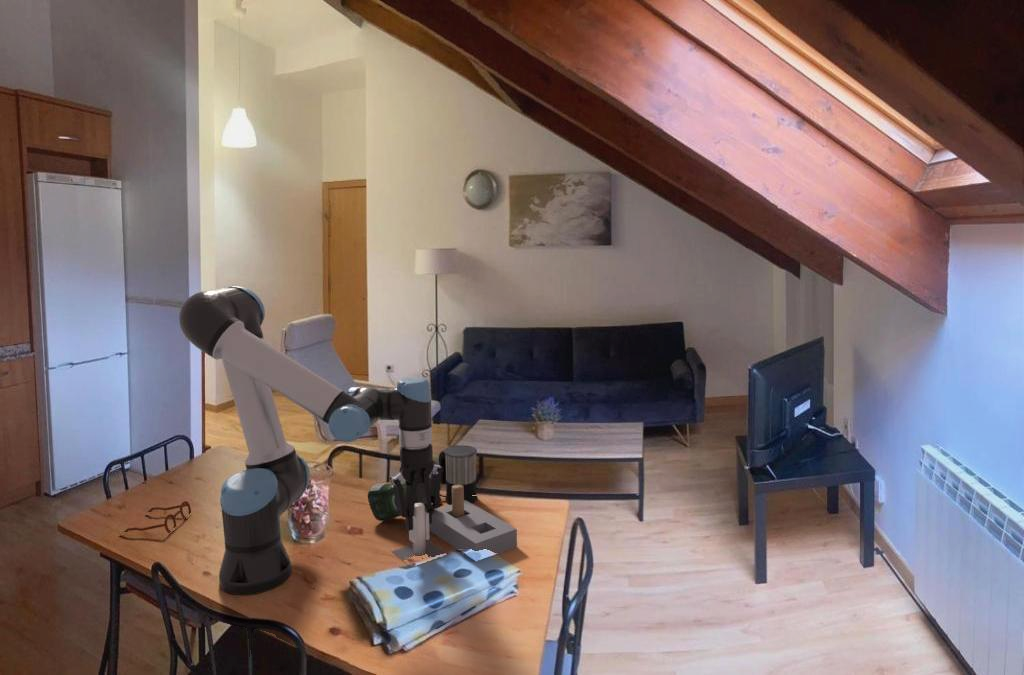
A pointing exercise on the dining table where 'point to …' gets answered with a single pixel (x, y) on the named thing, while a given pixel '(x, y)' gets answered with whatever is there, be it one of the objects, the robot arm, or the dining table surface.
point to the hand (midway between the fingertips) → (419, 539)
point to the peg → (420, 530)
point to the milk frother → (459, 471)
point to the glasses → (166, 517)
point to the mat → (408, 551)
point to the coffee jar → (387, 500)
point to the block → (471, 526)
